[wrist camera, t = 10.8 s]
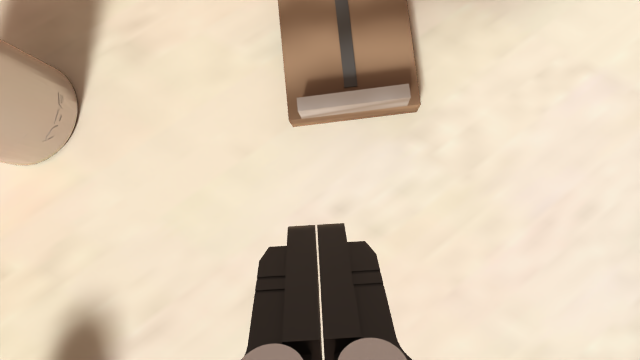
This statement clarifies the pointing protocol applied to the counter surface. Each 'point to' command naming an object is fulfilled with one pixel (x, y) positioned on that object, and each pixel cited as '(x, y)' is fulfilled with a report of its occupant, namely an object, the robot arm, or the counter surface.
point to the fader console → (347, 60)
